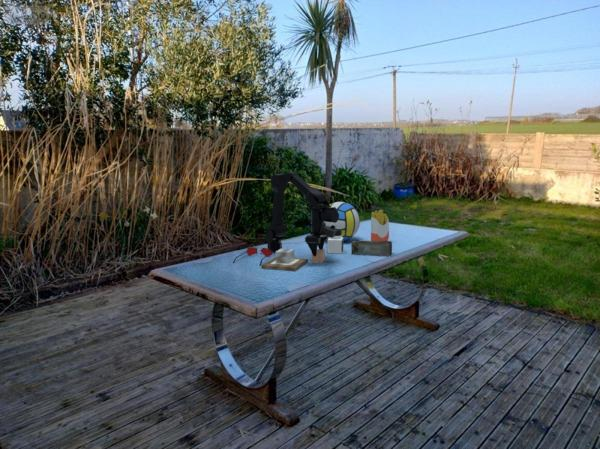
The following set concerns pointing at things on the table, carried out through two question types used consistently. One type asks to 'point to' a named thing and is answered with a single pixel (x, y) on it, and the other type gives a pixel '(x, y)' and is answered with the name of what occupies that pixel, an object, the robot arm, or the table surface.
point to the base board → (284, 267)
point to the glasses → (254, 251)
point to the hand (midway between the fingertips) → (318, 253)
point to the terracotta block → (318, 256)
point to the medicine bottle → (336, 243)
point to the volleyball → (346, 219)
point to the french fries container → (379, 226)
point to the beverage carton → (371, 248)
